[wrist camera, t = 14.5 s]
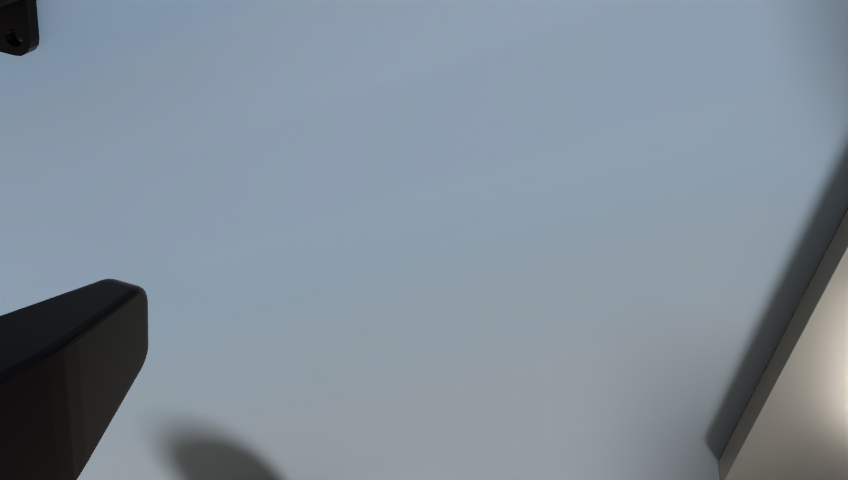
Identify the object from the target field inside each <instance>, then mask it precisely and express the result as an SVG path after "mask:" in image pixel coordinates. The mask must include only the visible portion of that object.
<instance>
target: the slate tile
mask: <svg viewBox="0 0 848 480" xmlns="http://www.w3.org/2000/svg"><path fill="white" fill-rule="evenodd" d="M718 468H719V476H720V480H848V209H847V211H846V213H845V215H844V217H843V219H842V221H841V223H840V225H839V227H838V229H837V231H836V233H835V235H834V237H833V239H832V241H831V243H830V245H829V247H828V249H827V250H826V252H825V254H824V256H823V258H822V260H821V262H820V264H819V266H818V268H817V270H816V272H815V274H814V276H813V278H812V280H811V282H810V284H809V286H808V288H807V289H806V291H805V293H804V295H803V297H802V299H801V301H800V303H799V305H798V307H797V309H796V311H795V313H794V315H793V317H792V319H791V321H790V323H789V325H788V327H787V328H786V330H785V332H784V334H783V336H782V338H781V340H780V342H779V344H778V346H777V348H776V350H775V352H774V354H773V356H772V358H771V360H770V362H769V364H768V366H767V368H766V369H765V371H764V373H763V375H762V377H761V379H760V381H759V383H758V385H757V387H756V389H755V391H754V393H753V395H752V397H751V399H750V401H749V403H748V405H747V407H746V408H745V410H744V412H743V414H742V416H741V418H740V420H739V422H738V424H737V426H736V428H735V430H734V432H733V434H732V436H731V438H730V440H729V442H728V444H727V446H726V447H725V449H724V451H723V453H722V455H721V457H720V459H719V461H718Z"/></svg>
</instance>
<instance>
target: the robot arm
mask: <svg viewBox="0 0 848 480" xmlns="http://www.w3.org/2000/svg"><path fill="white" fill-rule="evenodd" d="M14 30H16V31H17V32H18V33H19V34H20V35H21V38H22V42H21V41H19V40H18V39H17V37H16V36H15V33H14ZM38 45H39V30H38V18H37V6H36V0H0V52H4V53H8V54H11V55H16V56H22V55H24V54H26V53H29V52H31V51H33V50H35V49H36V48H37V46H38ZM147 351H148V300H147V295H146V292H145V291H144V289H142V288H141V287H139V286H136V285H133V284H129V283H126V282H122V281H119V280H115V279H105V280H101V281H98V282H95V283H93V284H90V285H87V286H84V287H81V288H79V289H76V290H73V291H70V292H67V293H64V294H62V295H59V296H56V297H53V298H50V299H47V300H45V301H42V302H39V303H36V304H33V305H30V306H28V307H25V308H22V309H19V310H16V311H13V312H11V313H8V314H5V315H2V316H0V480H77V478H78V477H79V475H80V473H81V472H82V470H83V469H84V467H85V465H86V464H87V462H88V460H89V459H90V457H91V455H92V453H93V452H94V450H95V448H96V446H97V445H98V443H99V441H100V439H101V438H102V436H103V434H104V432H105V431H106V429H107V427H108V426H109V424H110V422H111V420H112V419H113V417H114V415H115V413H116V412H117V410H118V408H119V406H120V405H121V403H122V401H123V399H124V398H125V396H126V394H127V392H128V391H129V389H130V387H131V386H132V384H133V382H134V380H135V379H136V377H137V375H138V373H139V372H140V370H141V368H142V366H143V364H144V361H145V359H146V355H147Z"/></svg>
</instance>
